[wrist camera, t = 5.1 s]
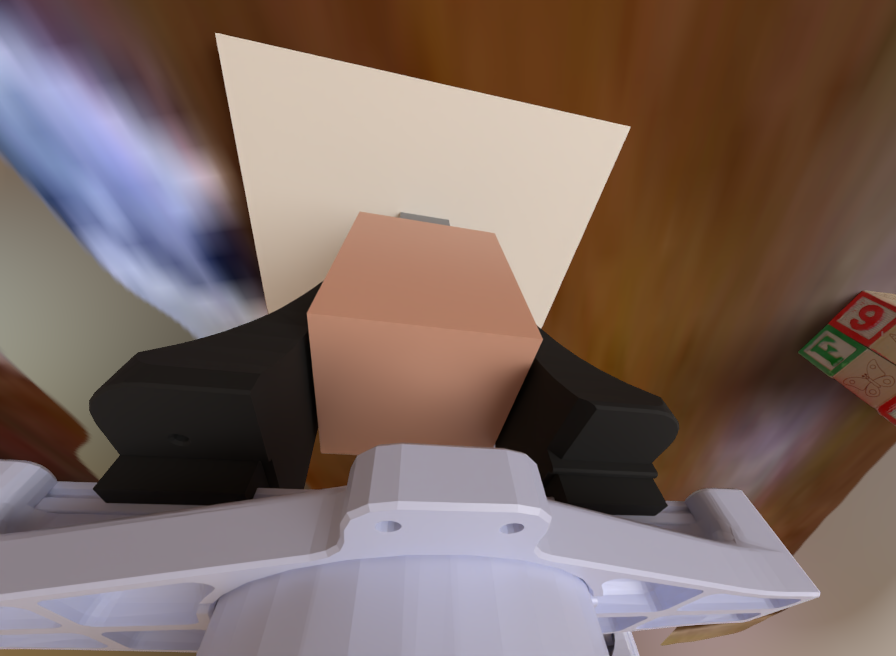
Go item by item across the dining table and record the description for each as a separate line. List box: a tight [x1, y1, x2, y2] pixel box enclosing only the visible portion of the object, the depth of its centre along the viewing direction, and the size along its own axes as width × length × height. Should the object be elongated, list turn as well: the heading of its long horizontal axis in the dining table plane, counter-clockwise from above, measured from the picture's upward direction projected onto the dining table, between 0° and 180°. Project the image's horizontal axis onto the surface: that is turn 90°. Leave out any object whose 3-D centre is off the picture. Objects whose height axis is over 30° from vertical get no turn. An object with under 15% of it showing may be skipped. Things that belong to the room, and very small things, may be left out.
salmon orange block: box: [307, 212, 543, 455], centre depth 11 cm, size 5×5×7 cm
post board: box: [215, 33, 630, 328], centre depth 16 cm, size 14×18×7 cm
